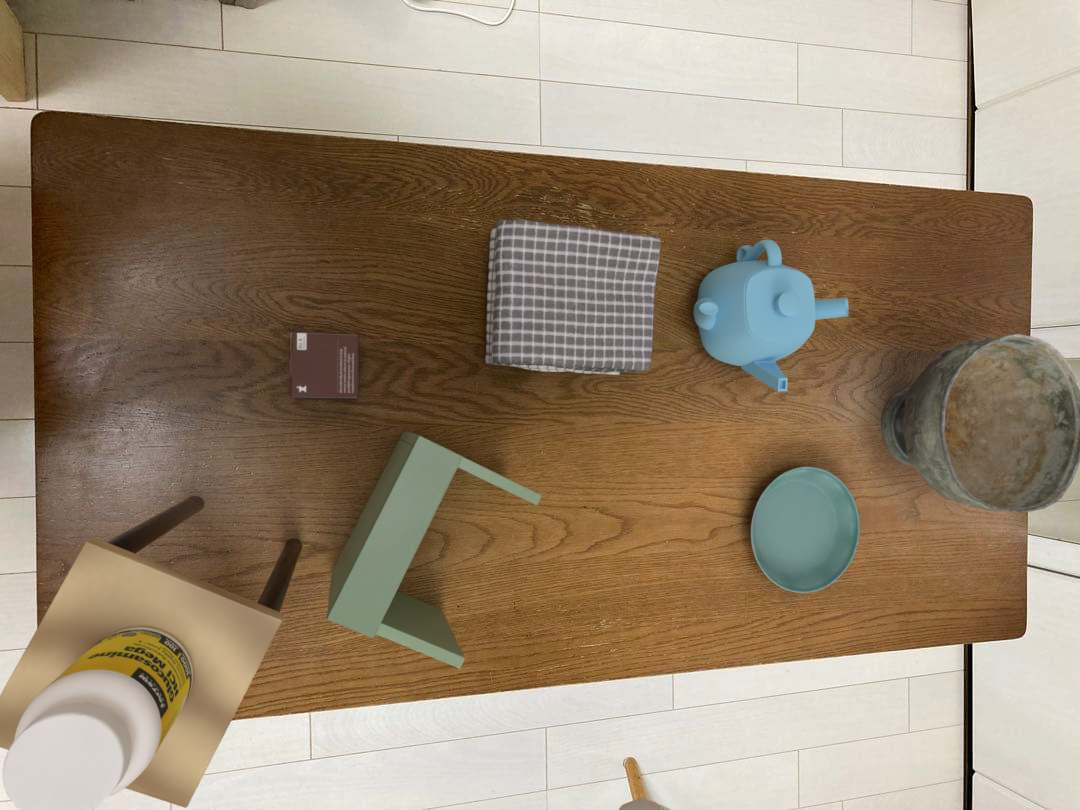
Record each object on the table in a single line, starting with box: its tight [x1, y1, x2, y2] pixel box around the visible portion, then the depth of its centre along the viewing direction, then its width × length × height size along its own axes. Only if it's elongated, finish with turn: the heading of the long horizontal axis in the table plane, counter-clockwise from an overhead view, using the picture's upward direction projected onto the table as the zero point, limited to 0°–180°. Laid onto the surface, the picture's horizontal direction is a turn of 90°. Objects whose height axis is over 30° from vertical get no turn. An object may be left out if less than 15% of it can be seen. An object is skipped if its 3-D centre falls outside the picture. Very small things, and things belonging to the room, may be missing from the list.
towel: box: [484, 218, 662, 376], centre depth 74 cm, size 15×18×8 cm
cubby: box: [326, 430, 543, 669], centre depth 66 cm, size 16×12×16 cm
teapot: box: [693, 239, 850, 392], centre depth 78 cm, size 15×14×11 cm
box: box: [289, 331, 360, 402], centre depth 68 cm, size 6×6×7 cm
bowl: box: [881, 333, 1080, 513], centre depth 82 cm, size 20×19×15 cm
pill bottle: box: [2, 627, 193, 810], centre depth 36 cm, size 6×6×11 cm
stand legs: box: [106, 495, 303, 612], centre depth 56 cm, size 12×12×26 cm
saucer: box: [750, 466, 861, 594], centre depth 84 cm, size 15×15×3 cm
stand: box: [0, 537, 285, 809], centre depth 42 cm, size 12×12×2 cm
